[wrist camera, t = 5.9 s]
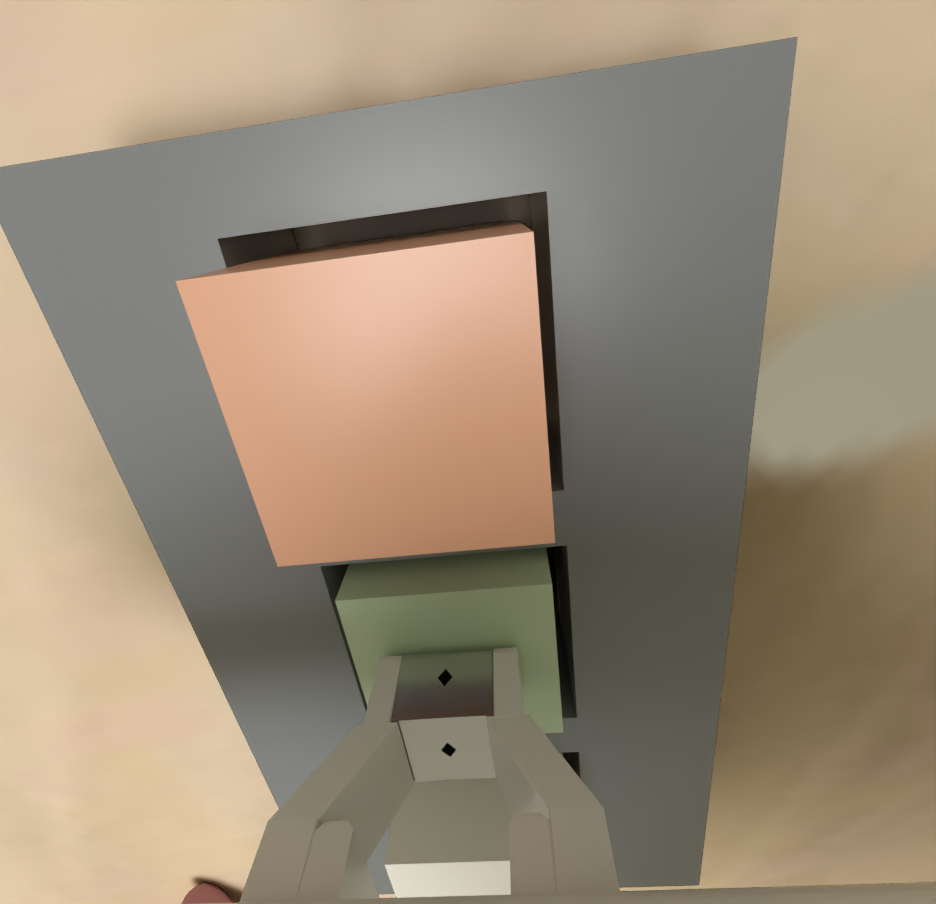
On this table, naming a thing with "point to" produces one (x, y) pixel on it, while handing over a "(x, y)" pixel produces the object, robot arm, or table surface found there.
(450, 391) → the terracotta button
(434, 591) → the sage green button
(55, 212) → the button panel
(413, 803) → the off white button
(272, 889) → the robot arm
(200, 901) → the video game controller
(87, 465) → the table surface
